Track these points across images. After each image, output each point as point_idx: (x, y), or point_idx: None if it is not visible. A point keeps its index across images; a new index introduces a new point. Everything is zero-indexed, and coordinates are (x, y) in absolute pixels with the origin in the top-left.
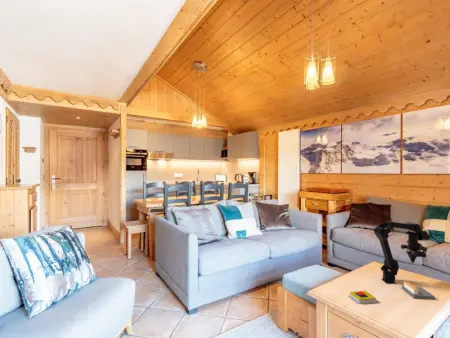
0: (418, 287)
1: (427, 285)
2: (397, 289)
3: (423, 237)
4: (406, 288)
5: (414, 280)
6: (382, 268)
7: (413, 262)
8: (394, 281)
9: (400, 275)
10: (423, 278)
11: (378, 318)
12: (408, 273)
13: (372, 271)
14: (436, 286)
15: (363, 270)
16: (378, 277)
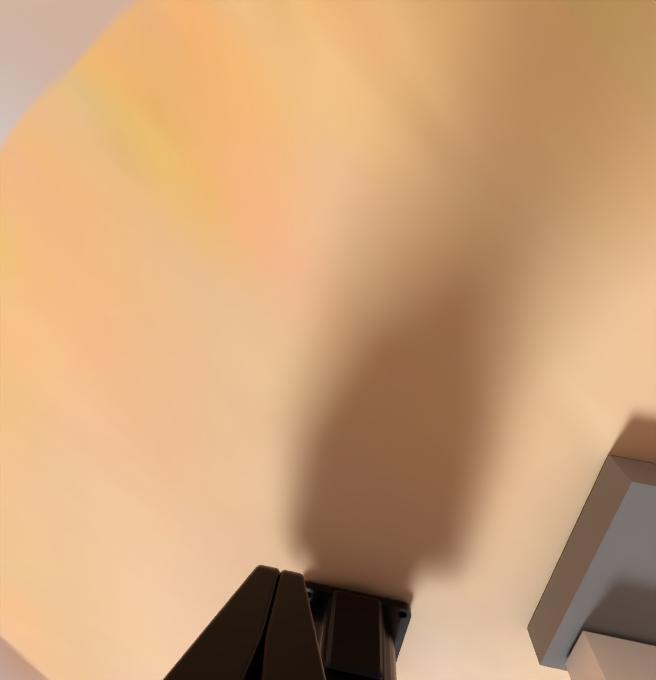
0: (631, 525)
1: (506, 235)
2: (527, 669)
3: None
4: None
5: (324, 296)
6: None
7: (304, 594)
8: (381, 611)
9: (159, 366)
10: (249, 52)
11: None
12: (61, 171)
13: (80, 600)
14: (569, 97)
15: (69, 661)
16: None
